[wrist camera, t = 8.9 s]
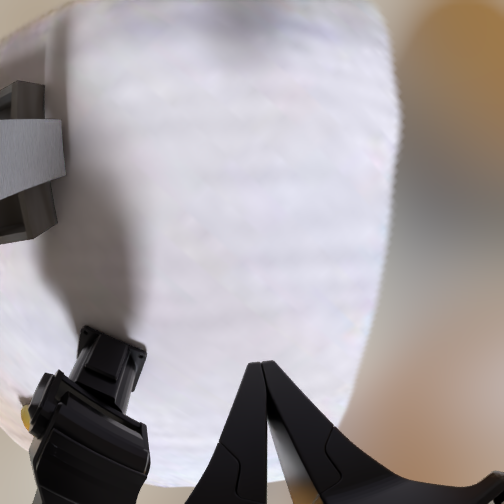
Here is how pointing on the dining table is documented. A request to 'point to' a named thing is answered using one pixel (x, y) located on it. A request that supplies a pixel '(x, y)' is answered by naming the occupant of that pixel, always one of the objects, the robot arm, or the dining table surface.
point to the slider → (29, 153)
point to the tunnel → (37, 197)
